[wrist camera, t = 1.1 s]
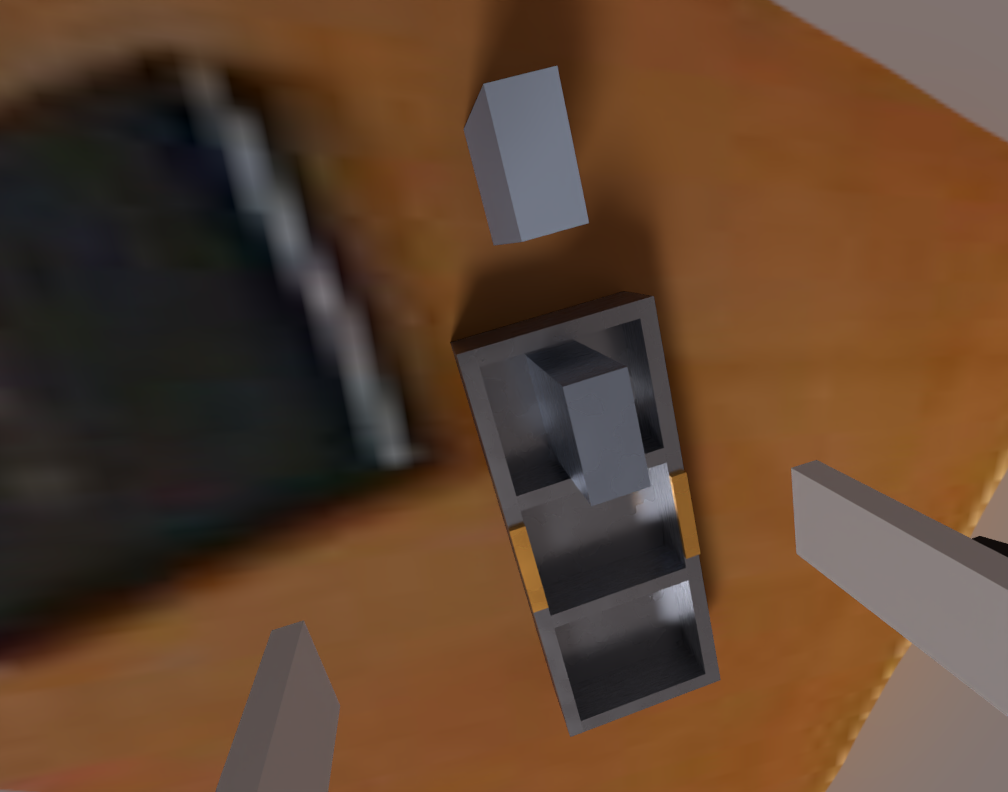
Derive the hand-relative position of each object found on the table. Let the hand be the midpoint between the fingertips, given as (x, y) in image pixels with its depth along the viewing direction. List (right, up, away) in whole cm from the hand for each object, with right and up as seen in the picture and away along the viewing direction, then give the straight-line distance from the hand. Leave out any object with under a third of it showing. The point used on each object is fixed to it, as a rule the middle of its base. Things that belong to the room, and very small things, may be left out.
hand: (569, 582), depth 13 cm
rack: (+4, -3, +23) cm, 23 cm away
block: (-2, +17, +16) cm, 24 cm away
